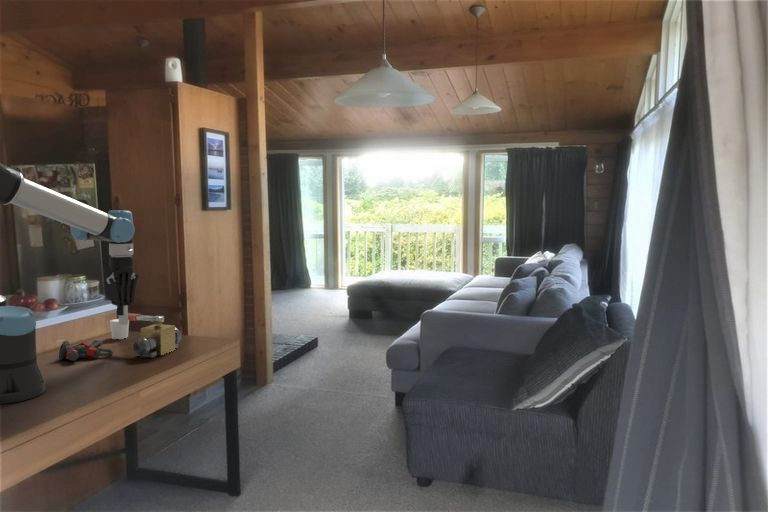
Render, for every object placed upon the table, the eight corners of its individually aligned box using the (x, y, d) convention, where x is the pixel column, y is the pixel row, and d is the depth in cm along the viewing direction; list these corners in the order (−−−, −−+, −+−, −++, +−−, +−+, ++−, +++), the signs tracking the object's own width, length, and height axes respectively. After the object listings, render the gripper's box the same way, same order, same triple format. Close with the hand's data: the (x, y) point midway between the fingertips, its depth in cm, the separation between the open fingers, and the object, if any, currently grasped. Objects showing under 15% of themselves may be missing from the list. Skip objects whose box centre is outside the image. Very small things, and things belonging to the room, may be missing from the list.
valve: (101, 370, 181) (51, 364, 178) (125, 352, 206) (82, 347, 204) (103, 350, 180) (54, 345, 178) (127, 335, 206) (85, 330, 204)
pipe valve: (151, 359, 185) (150, 328, 184) (131, 357, 187) (130, 326, 186) (183, 346, 203) (183, 318, 202) (164, 345, 205) (164, 316, 204)
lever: (166, 320, 196) (166, 315, 195) (159, 323, 192) (159, 318, 191) (127, 317, 200) (127, 312, 199) (120, 319, 196) (119, 314, 196)
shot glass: (133, 336, 218) (132, 318, 217) (123, 340, 211) (122, 322, 210) (116, 335, 218) (116, 317, 218) (106, 339, 211) (105, 321, 211)
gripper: (115, 258, 181) (117, 328, 184) (144, 254, 194) (146, 321, 196) (97, 256, 184) (99, 326, 186) (127, 253, 196) (129, 319, 198)
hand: (123, 323), depth 191 cm, fingers closed
